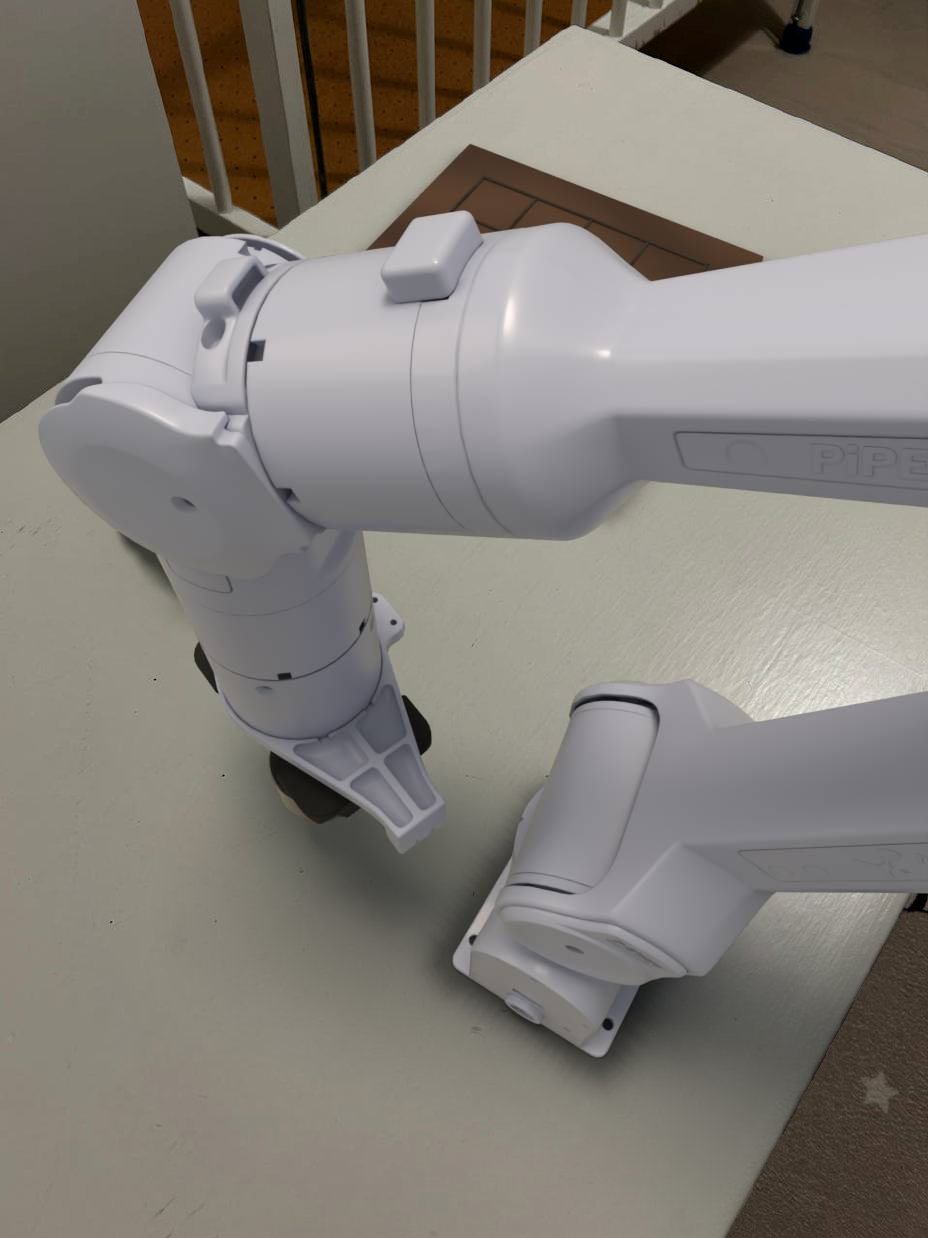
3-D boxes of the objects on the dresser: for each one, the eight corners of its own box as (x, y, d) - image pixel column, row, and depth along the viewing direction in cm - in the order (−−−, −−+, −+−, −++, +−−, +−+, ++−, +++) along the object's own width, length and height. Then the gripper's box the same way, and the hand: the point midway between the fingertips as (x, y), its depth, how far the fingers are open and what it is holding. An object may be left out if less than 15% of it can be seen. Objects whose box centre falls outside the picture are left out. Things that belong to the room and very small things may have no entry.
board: (603, 505, 59) (607, 489, 57) (283, 353, 65) (279, 335, 63) (758, 273, 69) (764, 254, 68) (469, 160, 75) (469, 141, 74)
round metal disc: (305, 840, 42) (297, 821, 40) (262, 767, 44) (251, 745, 42) (384, 791, 43) (380, 770, 41) (339, 722, 45) (333, 698, 43)
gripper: (525, 694, 29) (506, 833, 41) (267, 405, 35) (315, 600, 47) (329, 835, 27) (369, 939, 39) (88, 502, 33) (187, 681, 44)
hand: (331, 760), depth 43 cm, fingers closed on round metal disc, 4 cm apart
